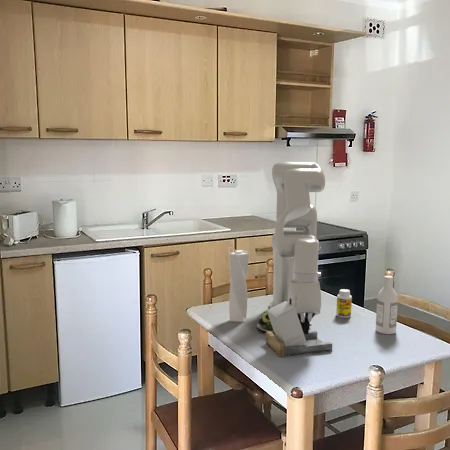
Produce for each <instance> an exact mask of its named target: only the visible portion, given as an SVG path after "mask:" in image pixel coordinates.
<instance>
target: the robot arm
mask: <svg viewBox="0 0 450 450" xmlns="http://www.w3.org/2000/svg"><path fill="white" fill-rule="evenodd" d="M271 169H272V170H271V176H272V181H273V185H274V187H275V189H276V190H275V191H276V214H275V215H276V217H275V218H276V223H275V228H274V234H272V238H271V245H272V247H271V248H272V256H273V277H272V278H273V279H272V280H273V281H272V282H273V284H272V288H273V289H272V291H273V292H272V301H270V302H269V304H268V307H269V309H270V308H272V307H274V306H276V305H278V304H280V303H282V302H285V301H286V302H288V303H289V304H291V305H292V306H294V307H295V309H296V312H297V315H298V318H299V321H300V324H301V327H302V330H303V333H304V334H308V333H309V331H310V329H311V328H310V327H311V326H310V324H311V323H310V322H311V321H312V320H313V318H314V317H315V316H317V315H320V314H321V309H322V293H321V292H322V291H321V286H320V281H319V278H321V276H322V273H321V272H319V270H318V269H319V251H320V241H319V240H318V238H317V231H318V211H317V209H316V207H315V206H314V205H313V204H311V198H310V197H311V196H310V193H321V192H323V190H324V189H325V187H326V176H325V173H324V171H323V169H322V168H321V167H320V165H319V164H318V163H317V162H314V161H280V162H276V163H274V164H273V165H272V168H271ZM284 228H285V229H287V228H288V229H304V230H284Z"/></svg>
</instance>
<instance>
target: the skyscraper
mask: <svg viewBox="0 0 450 450" xmlns="http://www.w3.org/2000/svg"><path fill="white" fill-rule="evenodd" d="M230 249H232V250H233V252H230ZM227 250H228V267H229V279H230V282H229V283H230V284H229V296H228V297H229V298H228V300H229V301H228V302H229V305H228V306H229V307H228V308H229V309H228V311H229V322H238V323H239V322H240V323H245V320H246V319H247V311H248V286H247V281H246V280H247V275H248V269H249V268H248V267H249V258H250V257H249V256H250V253H249V251H247V250H246V249H235V248H234V247H232V246H228V247H227Z"/></svg>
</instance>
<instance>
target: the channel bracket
mask: <svg viewBox="0 0 450 450" xmlns="http://www.w3.org/2000/svg"><path fill="white" fill-rule="evenodd" d="M304 336H305V339H306V342H305V343H303V344H301V345H297V346H288V347H284V346H285V344H284V343H283V342H282V341H280V340H279V339H278V338H277V337H276V336H275V335H274V334H273V333H272V332H271V331H266V334H265V343H266V345H268V347H269V349H271V350H272V351H273V352H274V353H275V354H276V355H277V356H278V357H279V358H283V357H292V356H302V355H311V354H319V353H327V352H333V343H332V342H331V341H328V342H324V341H322V340H321V339H320V338H319V337H318V331H316V330H309V333H308V334H304Z"/></svg>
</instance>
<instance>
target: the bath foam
mask: <svg viewBox="0 0 450 450" xmlns="http://www.w3.org/2000/svg"><path fill="white" fill-rule="evenodd" d="M393 285H394V277H393V276H392V275H384V277H383V287H382V288H381V289H380V290H379V292H378V295H377V298H376V312H375V313H376V314H375V315H376V316H375V331H376V332H377V333H379V334H382V335H393V334H395V333H396V332H397V322H398V321H397V320H398V306H399V305H398V304H399V301H398V299H399V298H398V295H397V292H396V290H395V288H394V286H393Z"/></svg>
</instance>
